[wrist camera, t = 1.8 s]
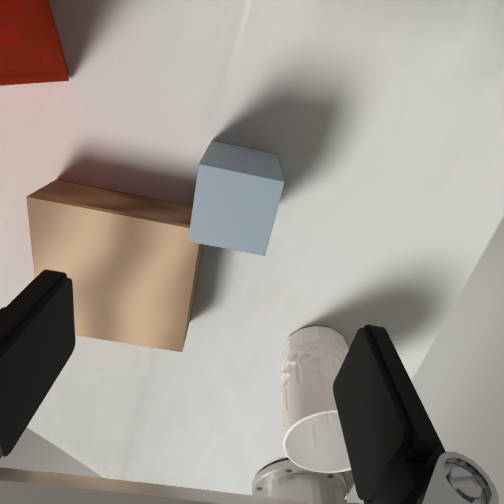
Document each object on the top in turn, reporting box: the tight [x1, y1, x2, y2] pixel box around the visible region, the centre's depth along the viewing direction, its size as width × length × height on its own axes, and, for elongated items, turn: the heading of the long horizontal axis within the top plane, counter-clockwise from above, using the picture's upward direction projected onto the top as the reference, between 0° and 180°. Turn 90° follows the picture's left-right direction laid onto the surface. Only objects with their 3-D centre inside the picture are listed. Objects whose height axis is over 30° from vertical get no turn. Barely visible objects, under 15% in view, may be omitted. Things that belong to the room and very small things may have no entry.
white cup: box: [281, 326, 351, 473], centre depth 31 cm, size 8×8×10 cm
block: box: [188, 140, 284, 256], centre depth 24 cm, size 5×5×7 cm
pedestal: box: [27, 180, 202, 352], centre depth 29 cm, size 12×12×4 cm
